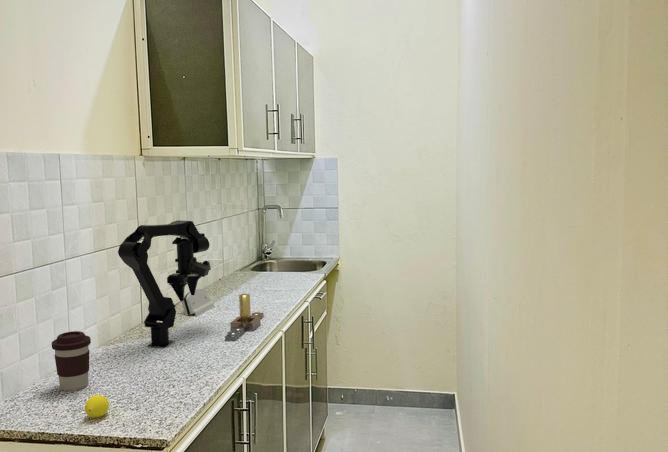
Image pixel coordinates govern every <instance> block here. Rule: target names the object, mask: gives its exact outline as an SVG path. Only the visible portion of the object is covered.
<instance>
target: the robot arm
mask: <svg viewBox="0 0 668 452" xmlns="http://www.w3.org/2000/svg"><path fill="white" fill-rule="evenodd" d="M165 236H173V237H174V236H175V239H174V240H173V241H172V243H171V244H172V245H176V258H175V259H174V262H175V263H177V269H176V270H175V273H174V272H173V273H172V274H169V275H168V276H167V277H166V282H167V284H169V286H171V288H172V289H173V291H174V292H175V294H176V296H177V297H178V299H179V301H180V302H182V301H184V295H185V287H186V286H187V287H188V290H189V292H190V293H191V295H195V290H196V289H197V285H198V281H199V280H200V279H201V278H202V277H206V276H208V275H209V271H211V270H212V268H211V267H212V266H211V263H210V260H209V261H208V260H204V261H203V262H199V261H197V257H196V256H195V255H194V254H197V253H202V252H206V251H208V250H209V248H210V241H209V239H208V238H207V237H206V236H205V233H203V232H202V233H201V232H199V230H198V229H197V226H196V225H195V223H194V221H193V220H174V221H171V222H170V223H167V224H164V223H163V224H149V225H148V224H147V225H146V224H141V225H139V226H137V228H136V229H135V230H134V231H133V232H132V233H130V234H129V235H128V236H126V238H125V239H124V240H123V241H122V243H121V244H120V245H119V247H118V250H117V254H118V256H119V258H120V259H121V261H122V262H123V263H124V264H125V265H126V266H128V267H129V268H130V269H132V271H133V273H134V275H135V277H136V278H137V281H138V283H139V285H140V286H141V289H142V291H143V293H144V295H145V297H146V299H147V301H148V306H147V310H148V314H147V316H146V318H145V319H144V321H143V323H144V327H145V328H150V340H151V342H150V343H148V344H147V348H148V347H151V348H166V347H167V346H169V345H171V344H172V343H174V340H173V339H172V340H171V339H170V335H169V329H170V328H174V325H175V321H176V320H175V319H176V315H177V310H176V308H177V306H176V305H175V303H174V301H173V298H171V297H170V296H169V297H167V296H164V295H163V293H162V290H161V289H160V287H159V285H158V283H157V280H156V279H155V276H154V274H153V272H152V270H151V268H150V266H149V264H148V259H149V254H148V251H149V249H151V246H152V239H153V238H154V237H165ZM142 238H143V239H142ZM141 239H142V241H141V242H139V241H140V240H141Z"/></svg>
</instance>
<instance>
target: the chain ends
mask: <svg viewBox="0 0 668 452" xmlns="http://www.w3.org/2000/svg"><path fill="white" fill-rule="evenodd" d="M264 314H265V313H264V312H261V311H258V312H257V311H256V312H255V311H254V312H252V313H251V322H240V316H237V317H236V318H234V319H233V320H231V322H230V330H229V331H228V332H227V333H226V335H225V336H224V341H225V342H226V341H229V342H235V341H237V340H238V339H240V337H241V336H243V335H244V334H245V333H246V332H255V331H256V330H257V329H258V328H259V327H260V326H261V320H262V319H263V318H264Z"/></svg>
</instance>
